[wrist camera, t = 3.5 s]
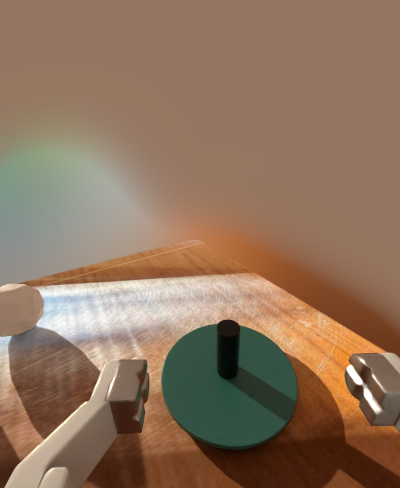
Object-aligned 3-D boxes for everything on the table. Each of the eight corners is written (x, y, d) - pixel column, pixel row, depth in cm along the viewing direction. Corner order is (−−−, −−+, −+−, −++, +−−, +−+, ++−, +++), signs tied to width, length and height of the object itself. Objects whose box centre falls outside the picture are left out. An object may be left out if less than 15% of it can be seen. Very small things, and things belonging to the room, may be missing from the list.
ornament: (-3, 357, 30) (-55, 313, 29) (22, 335, 37) (-18, 298, 36) (45, 318, 32) (-2, 273, 30) (61, 304, 39) (24, 267, 37)
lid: (328, 431, 22) (345, 377, 19) (167, 474, 19) (158, 419, 16) (260, 322, 35) (264, 280, 32) (159, 339, 32) (153, 295, 30)
